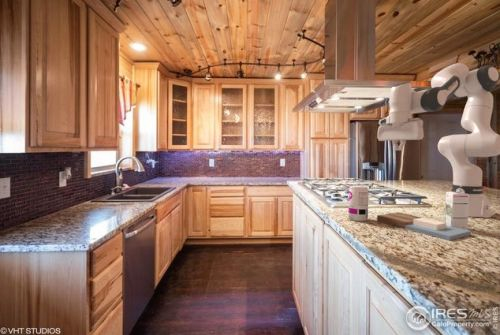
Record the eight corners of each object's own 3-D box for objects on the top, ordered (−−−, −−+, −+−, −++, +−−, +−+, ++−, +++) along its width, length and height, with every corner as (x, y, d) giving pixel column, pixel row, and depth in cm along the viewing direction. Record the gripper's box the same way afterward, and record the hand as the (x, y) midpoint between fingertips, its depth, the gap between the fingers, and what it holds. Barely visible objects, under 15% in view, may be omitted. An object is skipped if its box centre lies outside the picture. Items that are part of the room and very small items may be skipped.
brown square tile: (397, 217, 126) (397, 212, 126) (426, 224, 115) (426, 218, 115) (376, 221, 120) (377, 215, 120) (405, 228, 108) (405, 222, 108)
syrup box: (468, 231, 105) (470, 194, 104) (451, 230, 106) (452, 193, 105) (460, 227, 111) (461, 191, 110) (443, 226, 112) (445, 191, 111)
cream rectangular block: (422, 222, 112) (422, 217, 112) (446, 228, 104) (446, 223, 104) (413, 224, 109) (413, 219, 109) (436, 230, 101) (437, 224, 101)
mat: (426, 224, 115) (426, 220, 115) (471, 234, 100) (471, 230, 100) (405, 228, 108) (405, 224, 108) (449, 240, 94) (449, 236, 94)
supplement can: (347, 220, 121) (348, 187, 120) (348, 216, 128) (349, 184, 128) (367, 222, 118) (368, 188, 117) (367, 218, 125) (368, 185, 124)
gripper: (427, 117, 115) (426, 150, 116) (384, 122, 133) (383, 150, 134) (418, 116, 112) (417, 150, 113) (375, 121, 131) (374, 150, 131)
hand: (398, 150), depth 124 cm, fingers closed
